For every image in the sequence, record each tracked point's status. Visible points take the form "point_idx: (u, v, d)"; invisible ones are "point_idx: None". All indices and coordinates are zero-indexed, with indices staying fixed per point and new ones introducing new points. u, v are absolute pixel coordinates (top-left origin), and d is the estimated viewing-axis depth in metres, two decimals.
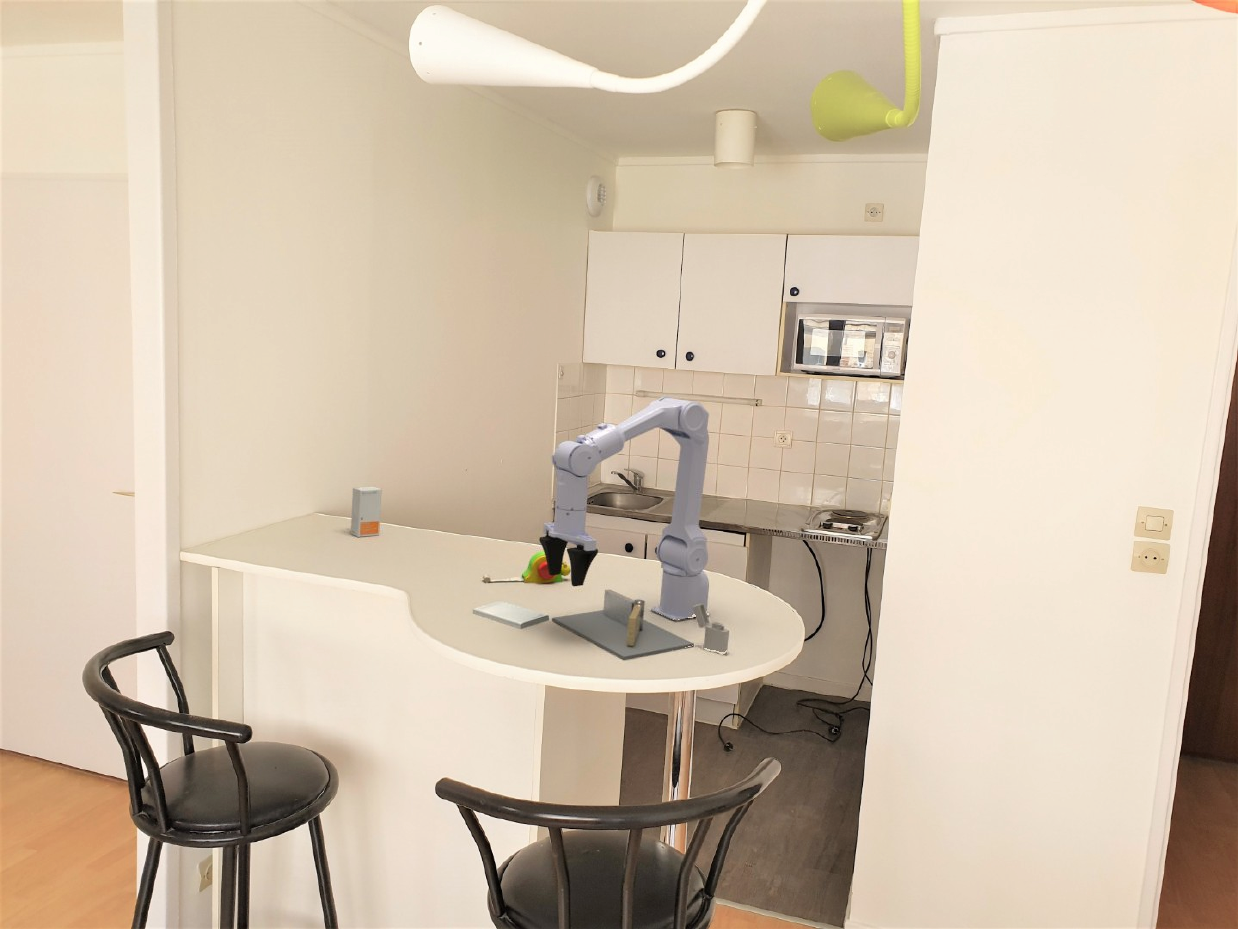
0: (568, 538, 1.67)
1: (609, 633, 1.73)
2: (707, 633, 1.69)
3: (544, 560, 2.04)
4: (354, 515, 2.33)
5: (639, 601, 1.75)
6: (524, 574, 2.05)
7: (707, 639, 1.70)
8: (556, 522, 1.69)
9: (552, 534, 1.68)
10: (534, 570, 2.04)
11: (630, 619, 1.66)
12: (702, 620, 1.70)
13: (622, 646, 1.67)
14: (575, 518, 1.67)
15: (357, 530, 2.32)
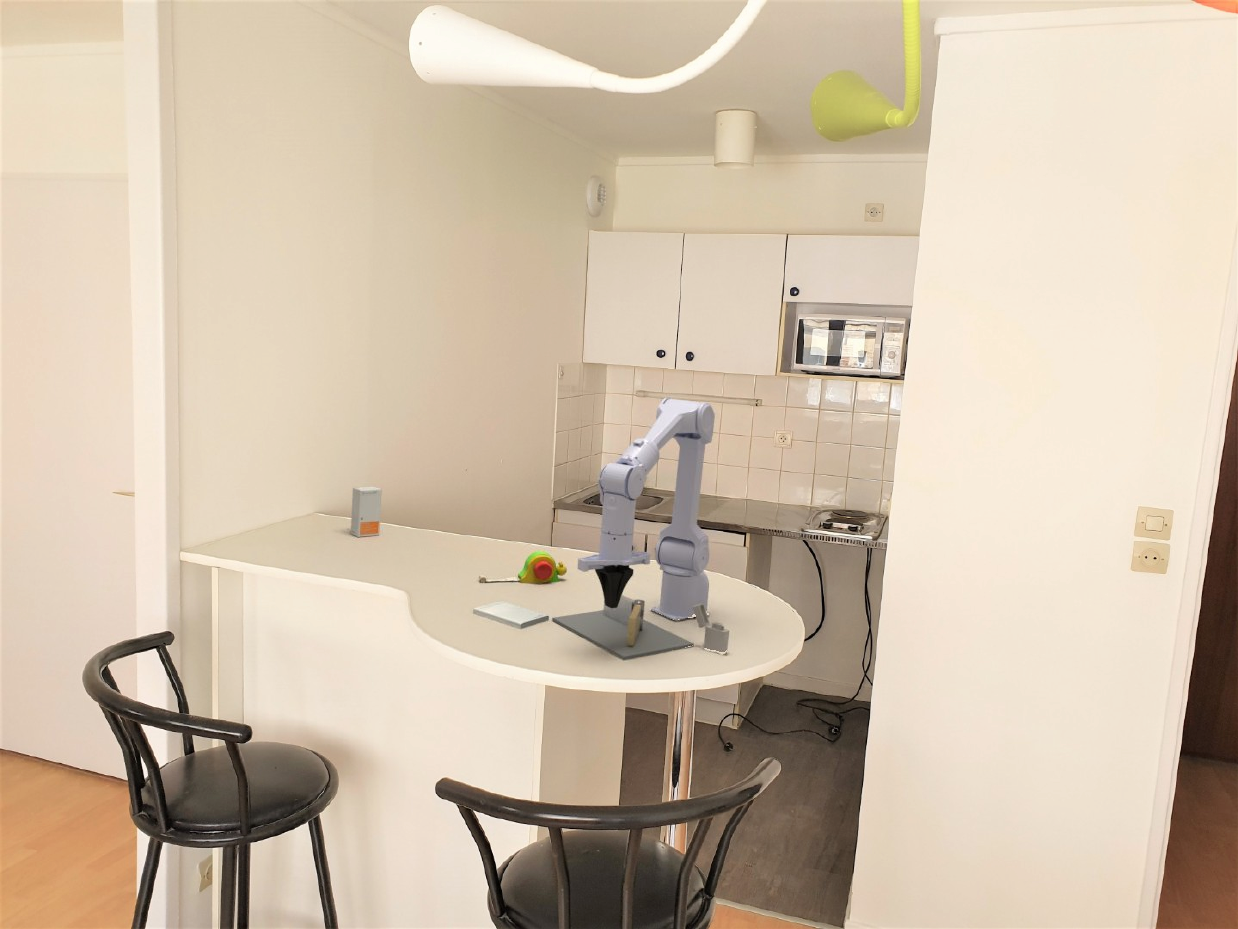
0: (636, 560, 1.65)
1: (609, 633, 1.73)
2: (707, 633, 1.69)
3: (540, 560, 2.04)
4: (354, 515, 2.33)
5: (639, 601, 1.75)
6: (520, 574, 2.05)
7: (707, 639, 1.70)
8: (625, 550, 1.62)
9: (631, 562, 1.62)
10: (530, 570, 2.04)
11: (630, 619, 1.66)
12: (702, 620, 1.70)
13: (622, 646, 1.67)
14: None
15: (357, 530, 2.32)
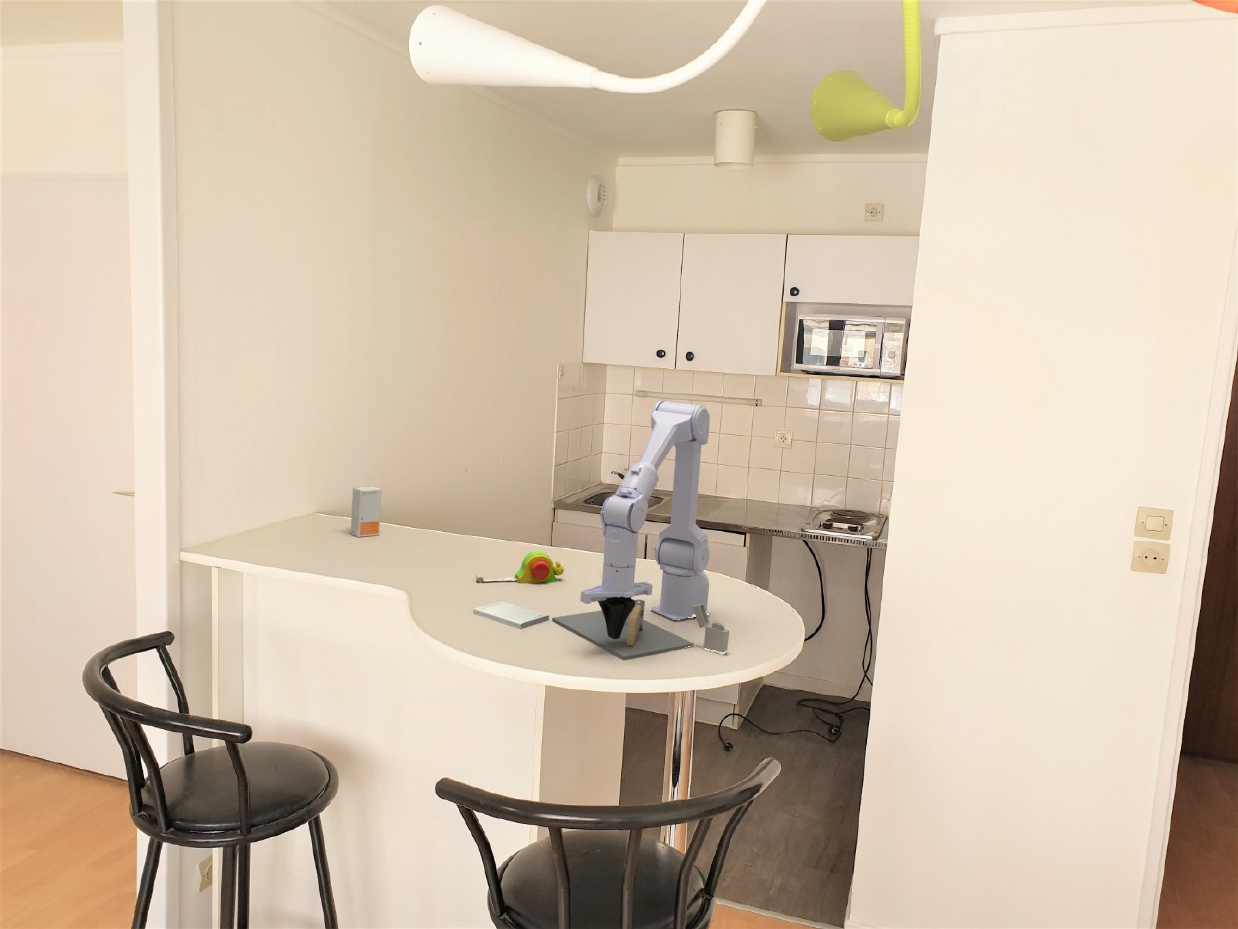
0: (638, 591, 1.66)
1: None
2: (707, 633, 1.69)
3: (537, 560, 2.04)
4: (354, 515, 2.33)
5: (639, 601, 1.75)
6: (517, 574, 2.05)
7: (707, 639, 1.70)
8: (627, 582, 1.63)
9: (633, 594, 1.63)
10: (527, 570, 2.03)
11: (630, 619, 1.66)
12: (702, 620, 1.70)
13: (622, 646, 1.67)
14: None
15: (357, 531, 2.32)
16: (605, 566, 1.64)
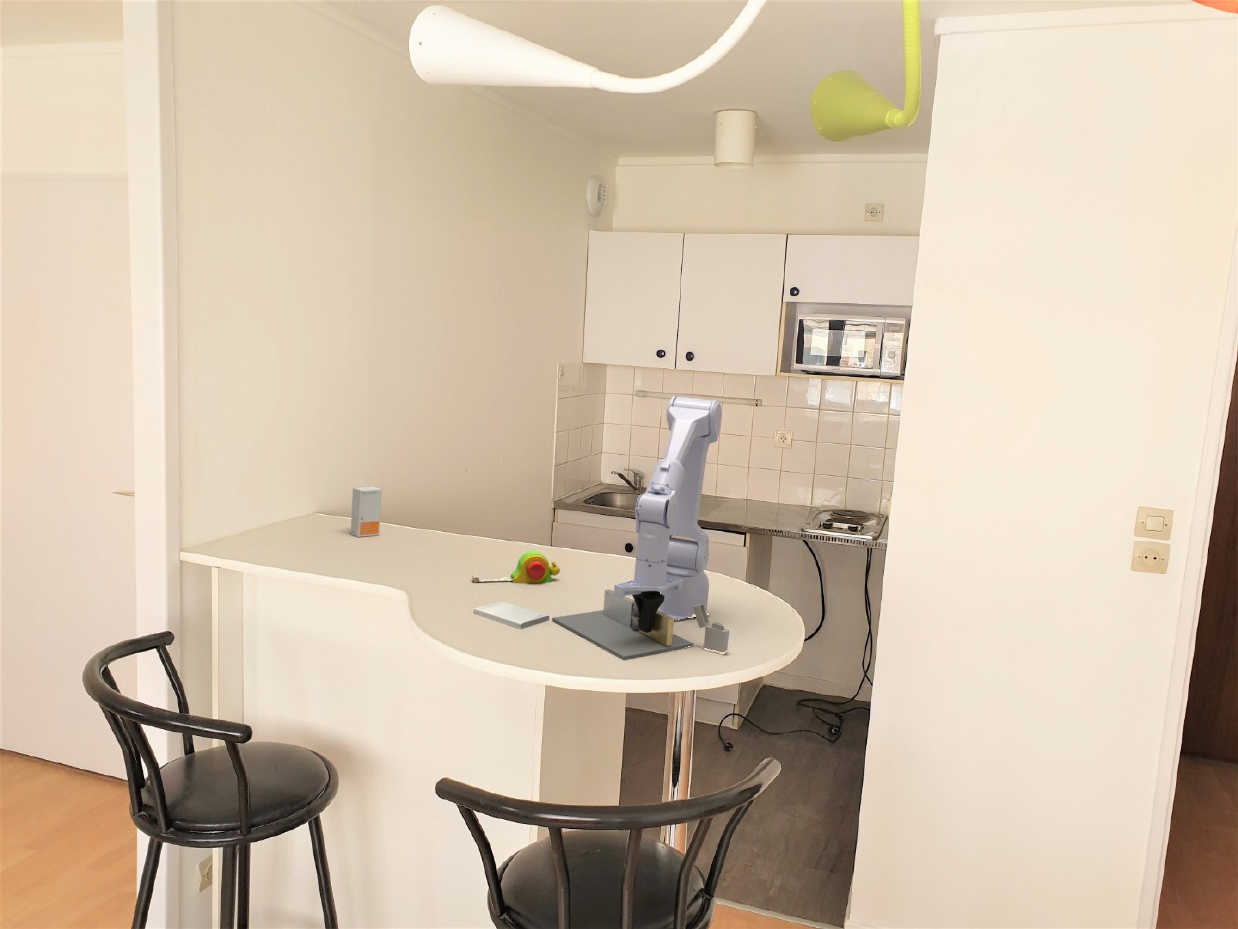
0: (669, 586, 1.70)
1: (609, 633, 1.73)
2: (707, 633, 1.69)
3: (533, 560, 2.03)
4: (354, 515, 2.33)
5: None
6: (513, 574, 2.04)
7: (707, 639, 1.70)
8: (659, 576, 1.67)
9: (665, 588, 1.67)
10: (523, 570, 2.03)
11: (669, 620, 1.67)
12: (702, 620, 1.70)
13: (622, 646, 1.67)
14: None
15: (357, 531, 2.32)
16: (638, 561, 1.68)
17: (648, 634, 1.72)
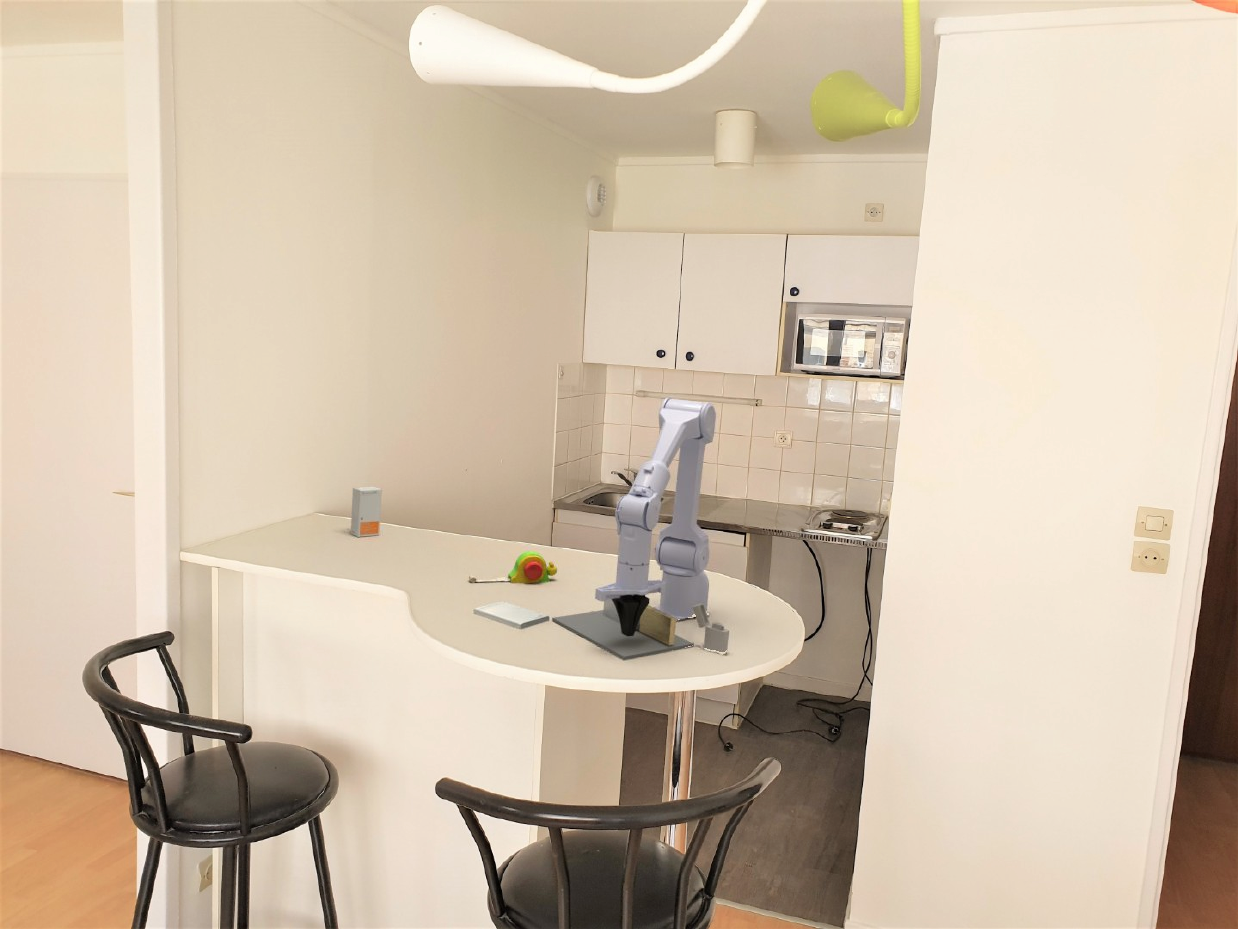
0: (652, 589, 1.68)
1: (609, 633, 1.73)
2: (707, 633, 1.69)
3: (530, 560, 2.03)
4: (354, 515, 2.33)
5: None
6: (510, 574, 2.04)
7: (707, 639, 1.70)
8: (641, 579, 1.65)
9: (647, 592, 1.65)
10: (520, 571, 2.03)
11: (672, 619, 1.68)
12: (702, 620, 1.70)
13: (622, 646, 1.67)
14: None
15: (357, 531, 2.32)
16: (619, 564, 1.66)
17: (649, 634, 1.72)
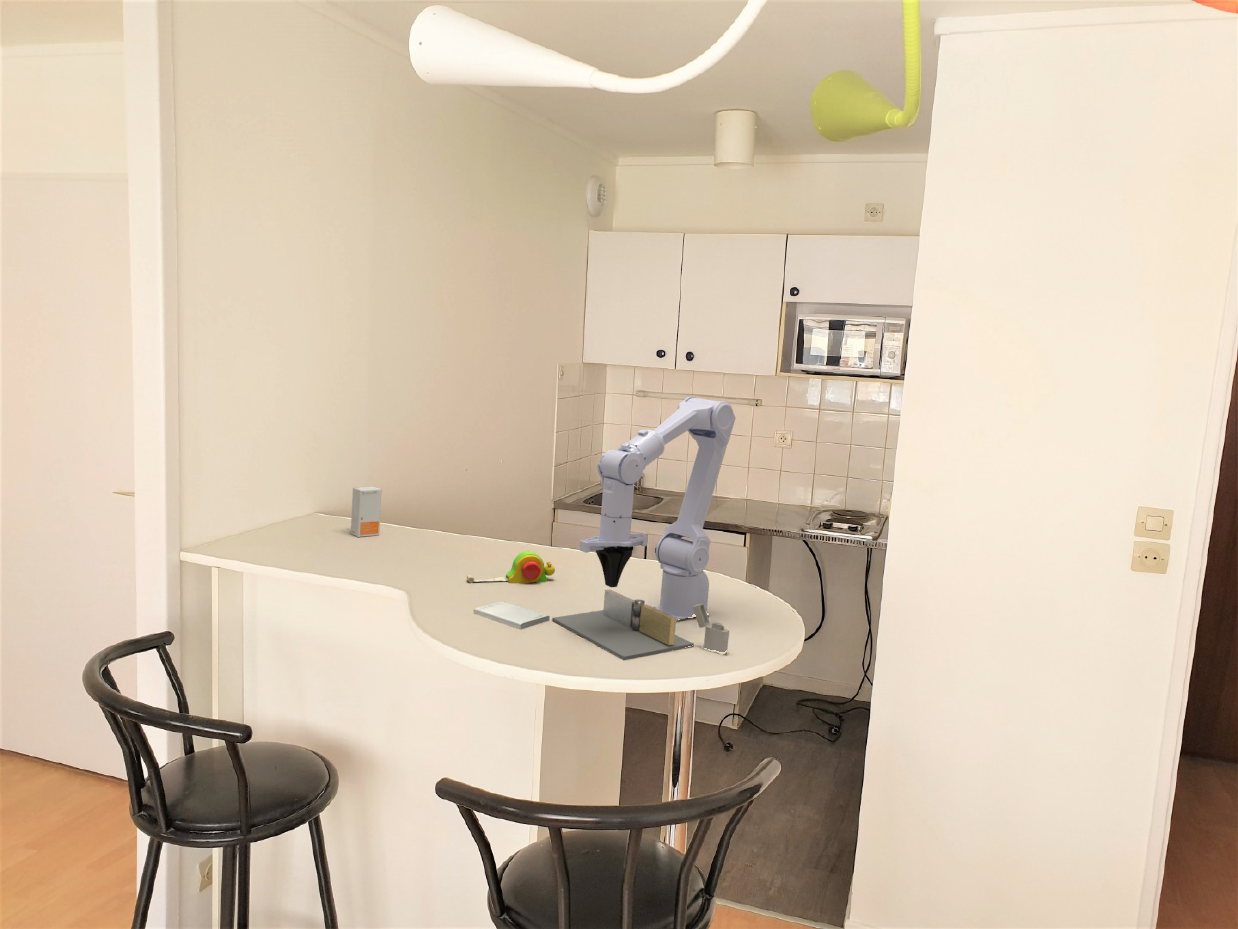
0: (634, 541, 1.74)
1: (609, 633, 1.73)
2: (707, 633, 1.69)
3: (528, 560, 2.03)
4: (354, 515, 2.33)
5: (640, 601, 1.75)
6: (508, 574, 2.04)
7: (707, 639, 1.70)
8: (624, 532, 1.71)
9: (630, 543, 1.71)
10: (518, 570, 2.03)
11: (672, 619, 1.68)
12: (702, 620, 1.70)
13: (622, 646, 1.67)
14: None
15: (357, 531, 2.32)
16: (603, 517, 1.71)
17: (649, 634, 1.72)
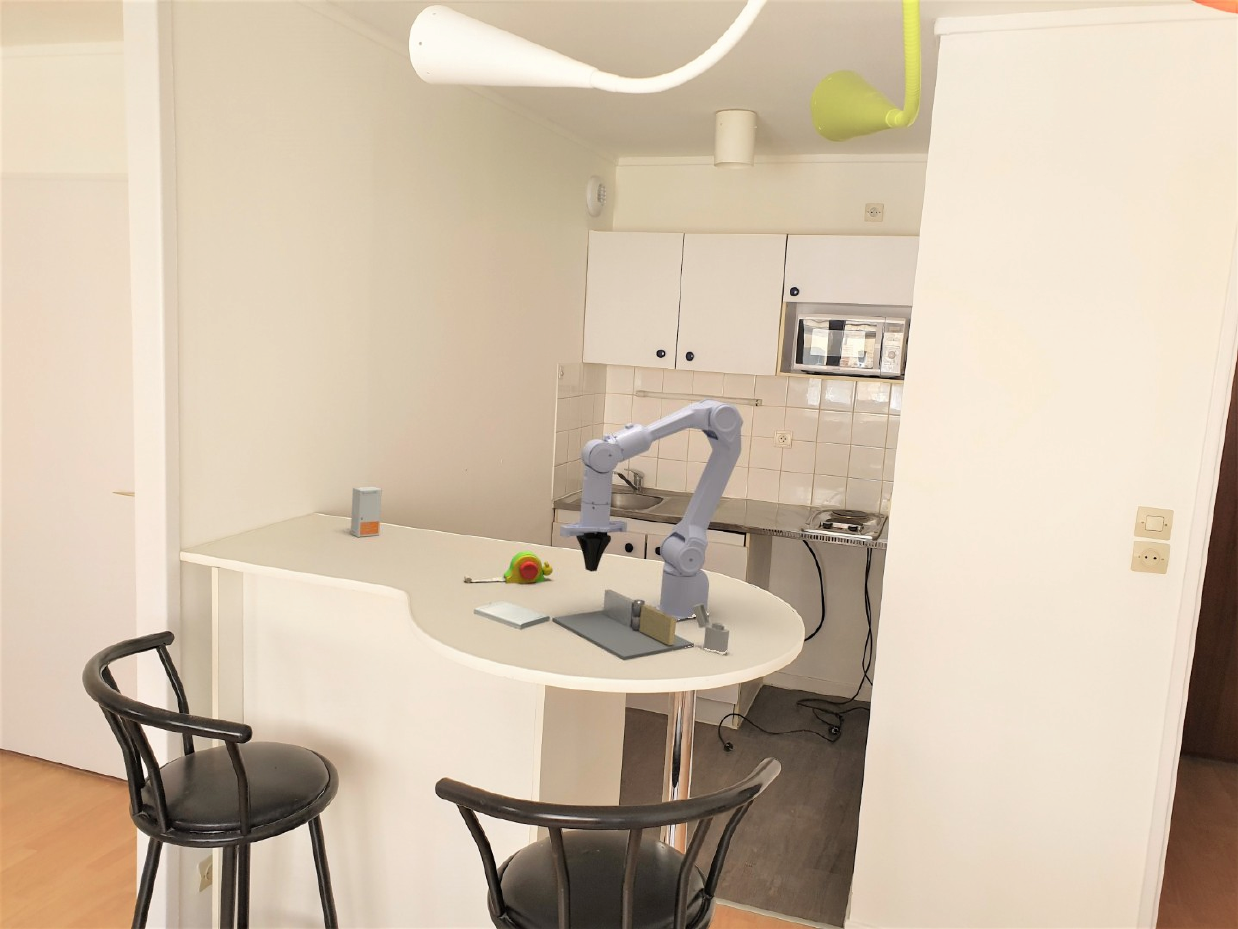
0: (613, 528, 1.81)
1: (609, 633, 1.73)
2: (707, 633, 1.69)
3: (526, 560, 2.03)
4: (354, 515, 2.33)
5: (640, 601, 1.75)
6: (506, 574, 2.04)
7: (707, 639, 1.70)
8: (603, 518, 1.79)
9: (608, 529, 1.78)
10: (515, 571, 2.03)
11: (672, 619, 1.68)
12: (702, 620, 1.70)
13: (622, 646, 1.67)
14: None
15: (357, 531, 2.32)
16: (583, 504, 1.79)
17: (649, 634, 1.72)
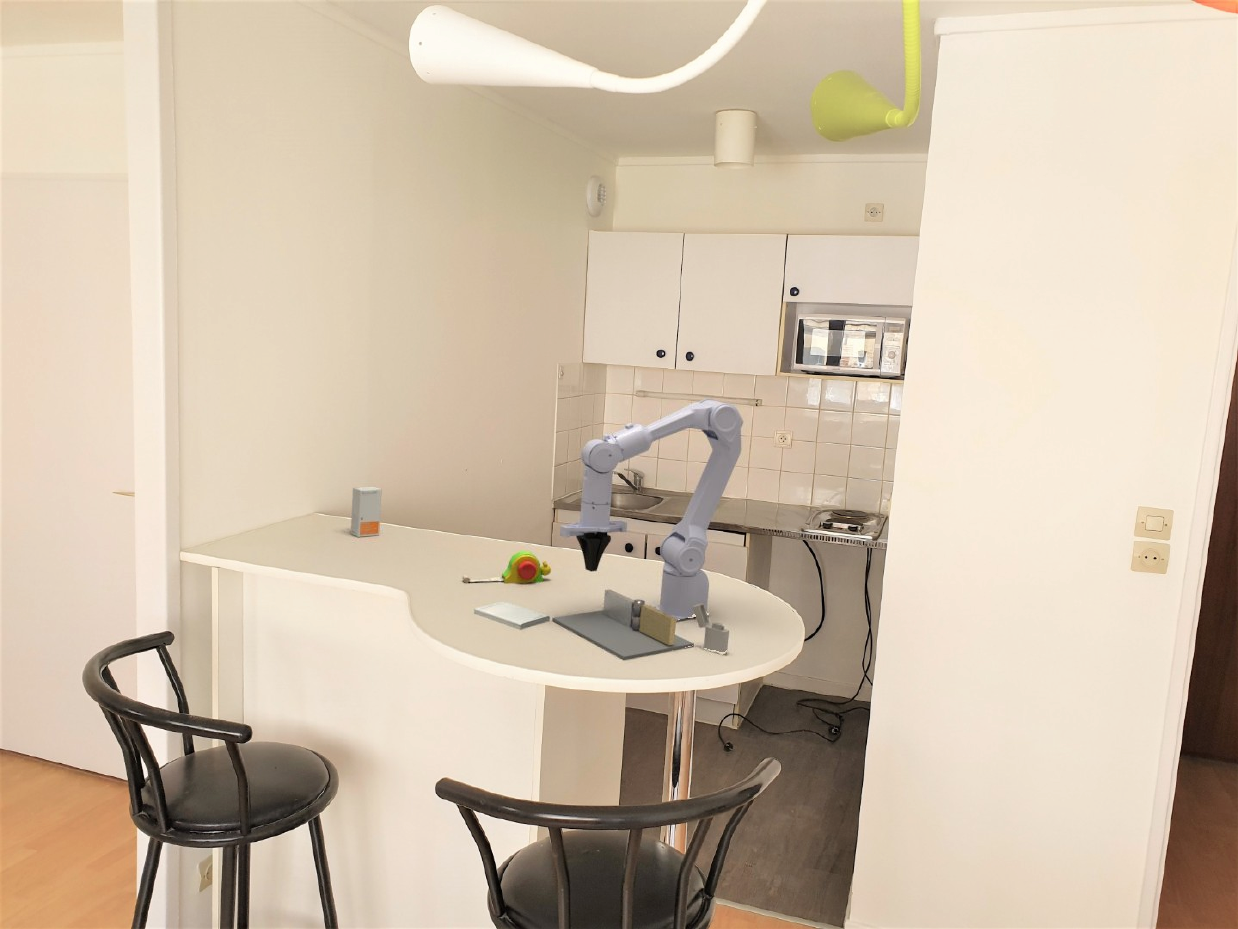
0: (613, 528, 1.81)
1: (609, 633, 1.73)
2: (707, 633, 1.69)
3: (524, 560, 2.03)
4: (354, 515, 2.33)
5: (640, 601, 1.75)
6: (504, 574, 2.04)
7: (707, 639, 1.70)
8: (603, 518, 1.79)
9: (608, 529, 1.78)
10: (514, 570, 2.03)
11: (672, 619, 1.68)
12: (702, 620, 1.70)
13: (622, 646, 1.67)
14: None
15: (357, 530, 2.32)
16: (583, 504, 1.79)
17: (649, 634, 1.72)
